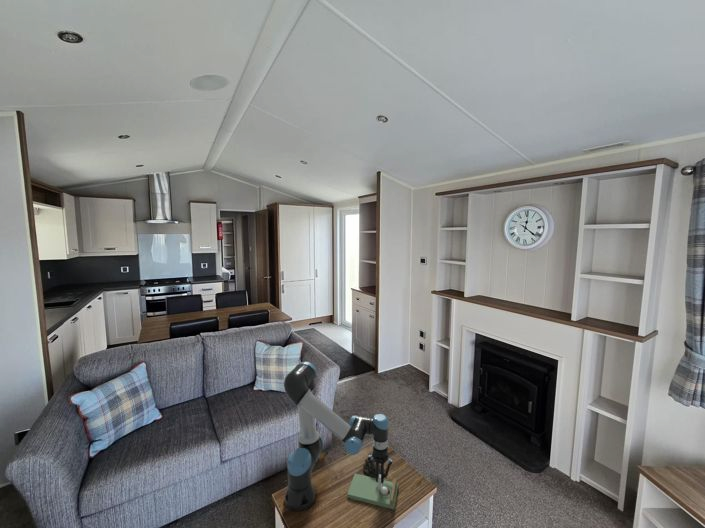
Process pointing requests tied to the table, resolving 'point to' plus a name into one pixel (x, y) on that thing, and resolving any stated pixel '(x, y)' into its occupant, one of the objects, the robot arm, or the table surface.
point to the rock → (368, 468)
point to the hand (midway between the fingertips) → (379, 487)
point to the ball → (384, 491)
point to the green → (372, 491)
